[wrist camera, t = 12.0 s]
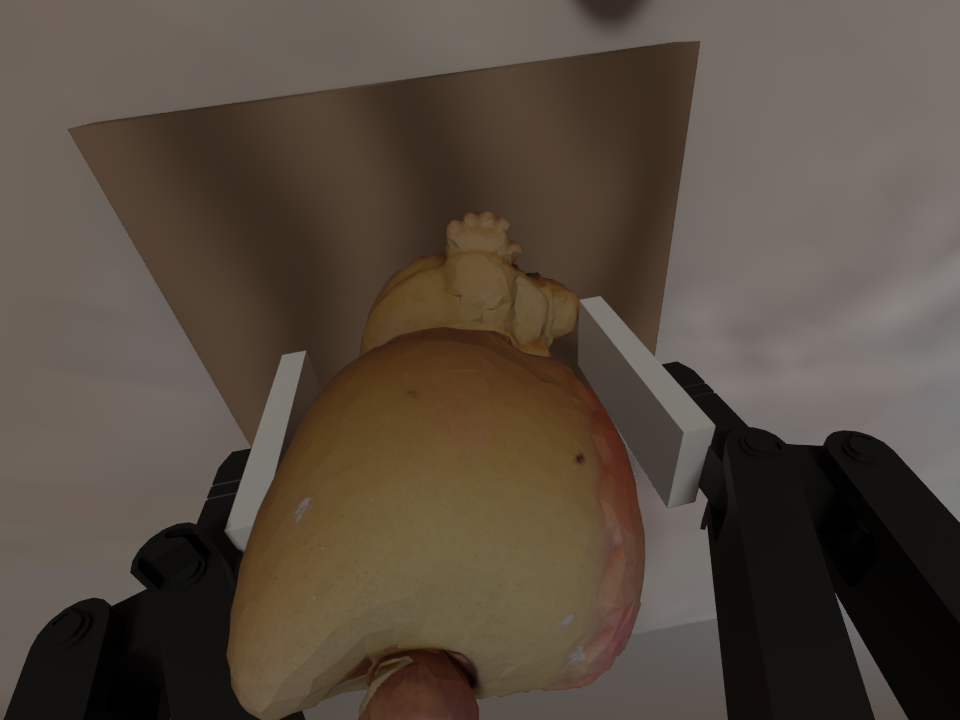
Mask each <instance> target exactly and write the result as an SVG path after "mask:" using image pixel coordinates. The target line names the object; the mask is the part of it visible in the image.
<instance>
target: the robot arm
mask: <svg viewBox="0 0 960 720" xmlns="http://www.w3.org/2000/svg"><path fill="white" fill-rule="evenodd" d="M578 366H579V367H580V369H581V370H582V372H583V374H584V375H585V377H586V378H587V380H588V382H589V383H590V385H591V386H592V388H593V390H594V391H595V393H596V394H597V396H598V398H599V399H600V401H601V403H602V404H603V406H604V407H605V409H606V411H607V412H608V414H609V415H610V417H611V419H612V420H613V422H614V423H615V425H616V427H617V428H618V430H619V431H620V433H621V435H622V436H623V438H624V439H625V441H626V443H627V444H628V446H629V448H630V449H631V451H632V452H633V454H634V456H635V457H636V459H637V460H638V462H639V464H640V465H641V467H642V468H643V470H644V472H645V473H646V475H647V476H648V478H649V480H650V481H651V483H652V484H653V486H654V488H655V489H656V491H657V493H658V494H659V496H660V497H661V499H662V501H663V502H664V504H665V505H666V507H667V508H671V507H675V506H679V505H684V504H688V503H693V502H695V500H696V496H697V493H698V489H699V488H700V489H701V490H702V492H703V493H704V495H705V496H706V497H707V499H708V502H707V505H706V508H705V512H704V515H703V518H702V522H701V528H700V529H703V530H705V528H706V525H707V528H708V537H709V547H710V556H711V565H712V575H713V584H714V593H715V603H716V612H717V621H718V631H719V640H720V649H721V659H722V668H723V678H724V687H725V696H726V706H727V715H728V720H875V718H874V715H873V712H872V709H871V705H870V702H869V699H868V696H867V693H866V690H865V686H864V683H863V680H862V677H861V674H860V671H859V668H858V664H857V661H856V658H855V655H854V651H853V648H852V645H851V642H850V639H849V636H848V632H847V629H846V626H845V623H844V620H843V617H842V614H841V610H840V608H839V604H838V601H837V598H836V595H837V596H838V598H839V600H840V602H841V603H842V605H843V607H844V608H845V610H846V612H847V614H848V615H849V617H850V619H851V621H852V622H853V624H854V626H855V628H856V629H857V631H858V633H859V635H860V636H861V638H862V640H863V641H864V643H865V645H866V647H867V648H868V650H869V652H870V654H871V655H872V657H873V659H874V661H875V662H876V664H877V666H878V667H879V669H880V671H881V673H882V674H883V676H884V678H885V680H886V681H887V683H888V685H889V686H890V688H891V690H892V692H893V693H894V695H895V697H896V699H897V700H898V702H899V704H900V705H901V707H902V709H903V711H904V712H905V714H906V716H907V718H908V719H909V720H960V522H959V521H958V520H957V519H956V518H955V517H954V516H953V515H952V514H951V513H950V512H949V510H948V509H947V508H946V507H945V506H944V505H943V504H942V503H941V502H940V501H939V500H938V498H937V497H936V496H935V495H934V494H933V493H932V492H931V491H930V490H929V489H928V487H927V486H926V485H925V484H924V483H923V482H922V481H921V480H920V479H919V478H918V477H917V475H916V474H915V473H914V472H913V471H912V470H911V469H910V468H909V467H908V466H907V465H906V463H905V462H904V461H903V460H902V459H901V458H900V457H899V456H898V455H897V454H896V453H895V451H894V450H892V449H891V448H890V447H889V446H888V445H886V444H885V443H884V442H882V441H880V440H878V439H876V438H874V437H872V436H870V435H867V434H864V433H860V432H857V431H845V430H843V431H838V432H833V433H832V434H830V435H829V436H828V437H827V438H826V440H825V442H824V445H823V446H814V445H793V444H786V443H785V442H784V441H782V440H781V439H780V438H779V437H777V436H776V435H774V434H772V433H770V432H768V431H766V430H762V429H758V428H754V427H748V426H747V425H746V424H745V423H744V422H743V421H742V420H741V418H740V417H739V416H738V415H737V414H736V413H735V412H734V411H733V410H732V409H731V408H730V407H729V406H728V405H727V404H726V403H725V402H724V401H723V400H722V399H721V398H720V397H719V396H718V395H717V394H716V393H714V392H713V390H712V389H711V388H710V387H709V386H708V385H707V384H705V382H704V380H703V379H702V378H701V377H700V376H699V375H698V374H697V373H696V372H695V371H694V370H692V369H690V368H688V367H687V366H685V365H683V364H681V363H679V362H672V363H667V364H662V365H661V364H660V363H659V361H658V360H657V359H656V358H655V357H654V356H653V355H652V354H651V352H650V351H649V350H648V349H647V348H646V347H645V346H644V345H643V343H642V342H641V341H640V340H639V339H638V338H637V337H636V336H635V334H634V333H633V332H632V331H631V330H630V329H629V328H628V327H627V325H626V324H625V323H624V322H623V321H622V320H621V319H620V318H619V316H618V315H617V314H616V313H615V312H614V311H613V310H612V309H611V307H610V306H609V305H608V304H607V303H606V302H605V301H604V300H603V298H602V297H601V296H598V297H592V298H587V299H581V300H579V327H578ZM321 391H322V389H321V386H320V384H319V381H318V379H317V376H316V374H315V371H314V369H313V366H312V364H311V361H310V359H309V356H308V354H307V352H306V351H301V352H296V353H290V354H285V355H282V358H281V361H280V364H279V367H278V370H277V373H276V376H275V379H274V382H273V385H272V388H271V391H270V394H269V397H268V400H267V403H266V406H265V410H264V413H263V416H262V419H261V422H260V425H259V428H258V431H257V434H256V437H255V440H254V443H253V446H252V448H250V449H245V450H240V451H235V452H232V453H231V454H230V455H229V456H228V458H227V459H226V460H225V461H224V462H223V463H222V465H221V466H220V467H219V468H218V471H217V474H216V476H215V479H214V481H213V484H212V485H213V487H211V489H210V491H209V494H208V497H207V498H208V500H207V501H206V502H205V504H204V507H203V509H202V512H201V514H200V517H199V519H198V522H197V525H196V524H193V523H190V522H189V523H181V524H176V525H173V526H171V527H168V528H166V529H164V530H162V531H161V532H159V533H158V534H156V535H155V536H153V537H152V538H150V539H149V540H148V541H147V542H146V543H145V544H144V545H143V546H142V547H141V548H140V549H139V551H138V553H137V554H136V556H135V558H134V559H133V561H132V566H131V571H130V573H131V574H132V575H133V576H134V577H135V578H137V579H138V580H139V581H140V582H141V583H142V584H143V585H144V586H145V587H146V588H147V589H146V590H144V591H142V592H140V593H138V594H136V595H134V596H132V597H130V598H128V599H126V600H124V601H121V602H119V603H117V604H115V605H113V606H111V605H110V604H109V603H107V602H106V601H105V600H104V599H98V598H90V599H87V600H83V601H79V602H77V603H76V604H74V605H72V606H70V607H68V608H66V609H64V610H63V611H62V612H61V613H59V614H58V615H57V616H56V617H54V618H53V619H52V620H51V621H50V622H49V623H48V624H47V625H46V626H45V627H44V628H43V629H42V631H41V632H40V633H39V634H38V635H37V637H36V639H35V641H34V643H33V644H32V646H31V648H30V650H29V653H28V656H27V658H26V661H25V664H24V666H23V669H22V672H21V674H20V677H19V680H18V682H17V685H16V688H15V691H14V693H13V696H12V699H11V701H10V704H9V707H8V709H7V712H6V715H5V717H4V720H170V717H171V720H261V719H259V718H257V717H255V716H254V715H252V714H250V713H248V712H247V711H246V710H245V709H244V708H243V707H242V705H241V704H240V702H239V700H238V698H237V696H236V694H235V692H234V690H233V688H232V686H231V674H230V666H229V663H228V660H227V657H226V655H227V648H228V642H229V635H230V617H231V608H232V604H233V600H234V596H235V592H236V588H237V581H238V575H239V569H240V564H241V561H242V558H243V555H244V551H245V548H246V545H247V542H248V539H249V536H250V533H251V530H252V527H253V524H254V521H255V518H256V515H257V512H258V510H259V508H260V505H261V503H262V501H263V499H264V497H265V495H266V493H267V491H268V489H269V487H270V484H271V482H272V480H273V478H274V476H275V474H276V472H277V470H278V468H279V466H280V464H281V462H282V460H283V458H284V456H285V454H286V452H287V450H288V448H289V446H290V443H291V441H292V439H293V437H294V435H295V433H296V431H297V429H298V427H299V426H300V424H301V422H302V420H303V419H304V417H305V415H306V413H307V411H308V410H309V408H310V406H311V404H312V403H313V401H314V399H315V398H316V397H317V396H318V394H319V393H320V392H321ZM835 593H836V594H835ZM279 720H305V717H304V714H303V711H298V712H295V713H292V714H290V715H288V716H286V717H284V718H282V719H279Z"/></svg>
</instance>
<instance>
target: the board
mask: <svg viewBox="0 0 960 720" xmlns="http://www.w3.org/2000/svg"><path fill="white" fill-rule="evenodd" d="M699 47H700V41H695V42H673V43H666V44H659V45H652V46H644V47H637V48H630V49H623V50H616V51H608V52H601V53H594V54H587V55H579V56H572V57H565V58H558V59H550V60H543V61H536V62H529V63H522V64H514V65H507V66H500V67H493V68H485V69H478V70H471V71H464V72H456V73H449V74H442V75H435V76H428V77H420V78H413V79H406V80H399V81H391V82H384V83H377V84H370V85H362V86H355V87H348V88H341V89H334V90H326V91H319V92H312V93H305V94H297V95H290V96H283V97H276V98H268V99H261V100H254V101H247V102H240V103H232V104H225V105H218V106H211V107H203V108H196V109H189V110H182V111H174V112H167V113H160V114H153V115H146V116H138V117H131V118H124V119H117V120H109V121H102V122H95V123H90V124H86V125H82V126H78V127H74V128H70V129H68V131H69V133H70V134H71V136H72V138H73V140H74V141H75V143H76V145H77V146H78V148H79V150H80V152H81V153H82V155H83V157H84V159H85V160H86V162H87V164H88V165H89V167H90V169H91V171H92V172H93V174H94V176H95V178H96V179H97V181H98V183H99V185H100V186H101V188H102V190H103V191H104V193H105V195H106V197H107V198H108V200H109V202H110V204H111V205H112V207H113V209H114V211H115V212H116V214H117V216H118V217H119V219H120V221H121V223H122V224H123V226H124V228H125V230H126V231H127V233H128V235H129V236H130V238H131V240H132V242H133V243H134V245H135V247H136V249H137V250H138V252H139V254H140V256H141V257H142V259H143V261H144V262H145V264H146V266H147V268H148V269H149V271H150V273H151V275H152V276H153V278H154V280H155V281H156V283H157V285H158V287H159V288H160V290H161V292H162V294H163V295H164V297H165V299H166V301H167V302H168V304H169V306H170V307H171V309H172V311H173V313H174V314H175V316H176V318H177V320H178V321H179V323H180V325H181V326H182V328H183V330H184V332H185V333H186V335H187V337H188V339H189V340H190V342H191V344H192V346H193V347H194V349H195V351H196V352H197V354H198V356H199V358H200V359H201V361H202V363H203V365H204V366H205V368H206V370H207V372H208V373H209V375H210V377H211V378H212V380H213V382H214V384H215V385H216V387H217V389H218V391H219V392H220V394H221V396H222V397H223V399H224V401H225V403H226V404H227V406H228V408H229V410H230V411H231V413H232V415H233V417H234V418H235V420H236V422H237V423H238V425H239V427H240V429H241V430H242V432H243V434H244V436H245V437H246V439H247V441H248V442H249V444H250V446H251V448H252V446H253V443H254V440H255V437H256V434H257V431H258V428H259V425H260V422H261V419H262V416H263V413H264V410H265V406H266V403H267V400H268V397H269V394H270V391H271V388H272V385H273V382H274V379H275V376H276V373H277V370H278V367H279V364H280V361H281V358H282V355H285V354H290V353H296V352H301V351H306V352H307V354H308V356H309V359H310V361H311V364H312V366H313V369H314V371H315V374H316V376H317V379H318V381H319V384H320V386H321V389H322V390H323V388H324V387H325V386H326V385H327V383H328V382H329V381H330V380H331V379H332V377H333V376H334V375H335V374H336V373H338V372H339V371H340V370H341V369H342V368H343V367H344V366H346V365H348V364H349V363H351V362H352V361H354V360H355V359H357V358H358V357H359V352H360V346H361V341H362V336H363V333H364V329H365V326H366V323H367V319H368V315H369V312H370V309H371V307H372V305H373V303H374V301H375V299H376V297H377V295H378V294H379V292H380V291H381V289H382V288H383V286H384V285H385V284H386V282H387V281H388V280H389V279H390V277H391V276H392V275H393V274H394V273H396V272H397V271H399V270H402V269H405V268H407V267H408V266H409V265H410V264H412V263H413V262H415V261H416V260H417V259H418V258H419V257H421V256H424V255H427V254H430V253H444V252H445V240H446V234H447V225H448V224H449V223H450V222H451V221H452V220H456V221H462V219H463V218H464V216H465V215H466V214H467V213H468V212H477V213H483V212H486V211H489V212H491V213H493V214H496V215H498V216H501V217H503V218H505V219H506V221H507V222H508V223H509V224H510V226H509V229H508V231H507V236H508V238H509V240H511V241H514V242H517V243H520V245H521V247H522V250H523V252H522V254H521V255H520V256H519V257H518V258H517V259H516V261H515V262H514V263H513V264H517V265H518V267H519V269H520V270H522V271H525V273H536V272H538V273H539V274H540V275H541V276H542V277H543V278H548V279H553V280H555V281H558V282H560V283H562V284H564V285H565V286H566V287H567V288H568V289H570V290H571V291H573V292H574V293H575V294H576V295H577V297H578V299H579V300H581V299H587V298H592V297H598V296H601V297H602V298H603V300H604V301H605V302H606V303H607V304H608V305H609V306H610V307H611V309H612V310H613V311H614V312H615V313H616V314H617V315H618V316H619V318H620V319H621V320H622V321H623V322H624V323H625V324H626V325H627V327H628V328H629V329H630V330H631V331H632V332H633V333H634V334H635V336H636V337H637V338H638V339H639V340H640V341H641V342H642V343H643V345H644V346H645V347H646V348H647V349H648V350H649V351H650V352H651V354H652V355H653V356H654V357H655V350H656V344H657V337H658V330H659V323H660V316H661V309H662V302H663V295H664V288H665V281H666V275H667V268H668V261H669V254H670V247H671V240H672V233H673V226H674V219H675V212H676V206H677V199H678V192H679V185H680V178H681V171H682V164H683V157H684V150H685V144H686V137H687V130H688V123H689V116H690V109H691V102H692V95H693V88H694V81H695V75H696V68H697V61H698V54H699ZM578 327H579V318H578V321H577V323H576V325H575V327H574V329H573V330H572V332H571V333H570V334H569V335H567V336H566V337H564V338H562V339H561V340H555V341H553V342H552V344H551V345H550V347H549V349H548V350H549V351H550V352H551V355H552V358H555V359H556V360H557V361H558V362H559V363H561V364H563V365H566V366H568V367H570V368H571V369H572V370H573V372H574V374H575V376H576V378H577V379H579V380H580V381H581V382H582V383H583V384H585V385H587V386H589V387H590V388H591V390H592V391H593V392H594V394H595V395H596V397H597V398H598V396H597V394H596V393H595V391H594V390H593V388H592V386H591V385H590V383H589V382H588V380H587V378H586V377H585V375H584V374H583V372H582V370H581V369H580V367H579V366H578ZM598 400H599V401H600V399H599V398H598ZM600 402H601V401H600ZM601 404H602V403H601ZM602 405H603V404H602ZM604 408H605V407H604Z"/></svg>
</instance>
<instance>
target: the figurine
mask: <svg viewBox="0 0 960 720" xmlns="http://www.w3.org/2000/svg"><path fill="white" fill-rule="evenodd" d="M509 226H510V224H509V223H508V222H507V221H506V219H505V218H503V217H501V216H498V215H496V214H493V213H491V212H489V211H486V212H483V213H477V212H468V213H467V214H466V215H465V216H464V218H463V219H462V221H456V220H452V221H451V222H450V223H449V224H448V225H447V234H446V240H445V252H444V253H430V254H427V255H424V256H421V257H419V258H418V259H417V260H416V261H415V262H413V263H412V264H410V265H409V266H408V267H407V268H405V269H402V270H399V271H397V272H396V273H394V274H393V275H392V276H391V277H390V279H389V280H388V281H387V282H386V284H385V285H384V286H383V288H382V289H381V291H380V292H379V294H378V295H377V297H376V299H375V301H374V303H373V305H372V307H371V309H370V312H369V315H368V319H367V323H366V326H365V329H364V333H363V336H362V341H361V346H360V352H359V357H358V358H357V359H355V360H354V361H352V362H351V363H349V364H348V365H346V366H344V367H343V368H342V369H341V370H340V371H339V372H338V373H336V374H335V375H334V376H333V377H332V379H331V380H330V381H329V382H328V383H327V385H326V386H325V387H324V388H323V390H322V391H321V392H320V393H319V394H318V396H317V397H316V398H315V399H314V401H313V403H312V404H311V406H310V408H309V410H308V411H307V413H306V415H305V417H304V419H303V420H302V422H301V424H300V426H299V427H298V429H297V431H296V433H295V435H294V437H293V439H292V441H291V443H290V446H289V448H288V450H287V452H286V454H285V456H284V458H283V460H282V462H281V464H280V466H279V468H278V470H277V472H276V474H275V476H274V478H273V480H272V482H271V484H270V487H269V489H268V491H267V493H266V495H265V497H264V499H263V501H262V503H261V505H260V508H259V510H258V512H257V515H256V518H255V521H254V524H253V527H252V530H251V533H250V536H249V539H248V542H247V545H246V548H245V551H244V555H243V558H242V561H241V564H240V569H239V575H238V581H237V588H236V592H235V596H234V600H233V604H232V608H231V617H230V635H229V642H228V648H227V655H226V657H227V660H228V663H229V666H230V674H231V686H232V688H233V690H234V692H235V694H236V696H237V698H238V700H239V702H240V704H241V705H242V707H243V708H244V709H245V710H246V711H247V712H248V713H250V714H252V715H254V716H255V717H257V718H259V719H261V720H279V719H282V718H284V717H286V716H288V715H290V714H292V713H295V712H298V711H302V710H305V709H308V708H311V707H315V706H316V705H317V704H318V703H319V702H320V701H323V700H325V699H327V698H330V697H333V696H335V695H339V694H341V693H345V692H351V691H358V690H364V689H368V691H367V693H366V695H365V697H364V699H363V701H362V703H361V705H360V710H359V720H479V707H478V705H477V702H476V699H483V698H486V697H489V696H493V695H497V696H499V697H502V696H506V695H510V694H514V693H518V692H529V691H530V690H531V689H542V690H562V689H570V688H581V687H583V686H586V685H589V684H591V683H592V682H593V681H594V680H595V679H597V678H598V677H599V676H600V675H601V674H602V673H603V672H605V671H606V670H609V669H610V668H611V666H612V664H613V662H614V660H615V658H616V657H617V656H618V655H620V654H621V652H622V651H623V650H624V649H625V647H626V645H627V642H628V640H629V638H630V636H631V633H632V630H633V627H634V624H635V621H636V618H637V615H638V612H639V609H640V606H641V603H640V597H641V591H642V586H643V580H644V567H645V537H644V529H643V523H642V518H641V514H640V509H639V504H638V498H637V490H636V483H635V479H634V475H633V472H632V468H631V464H630V461H629V457H628V454H627V451H626V448H625V445H624V443H623V441H622V439H621V437H620V435H619V433H618V431H617V429H616V427H615V425H614V423H613V422H612V420H611V418H610V416H609V414H608V413H607V411H606V409H605V408H604V406H603V405H602V404H601V402H600V401H599V400H598V398H597V397H596V395H595V394H594V392H593V391H592V390H591V388H590V387H589V386H587V385H585V384H583V383H582V382H581V381H580V380H579V379H577V378H576V376H575V374H574V372H573V370H572V369H571V368H570V367H568V366H566V365H563V364H561V363H559V362H558V361H557V360H556V359H555V358H552V355H551V352H550V351H549V350H548V349H549V347H550V345H551V344H552V342H553V341H555V340H561V339H562V338H564V337H566V336H567V335H569V334H570V333H571V332H572V330H573V329H574V327H575V325H576V323H577V321H578V318H579V299H578V297H577V295H576V294H575V293H574V292H573V291H571V290H570V289H568V288H567V287H566V286H565V285H564V284H562V283H560V282H558V281H555V280H553V279H548V278H543V277H542V276H541V275H540V274H539V273H538V272H536V273H525V271H522V270H520V269H519V267H518V265H517V264H513V263H514V262H515V261H516V259H517V258H518V257H519V256H520V255H521V254H522V252H523V250H522V247H521V245H520V243H517V242H514V241H511V240H509V238H508V236H507V231H508V229H509Z"/></svg>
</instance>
